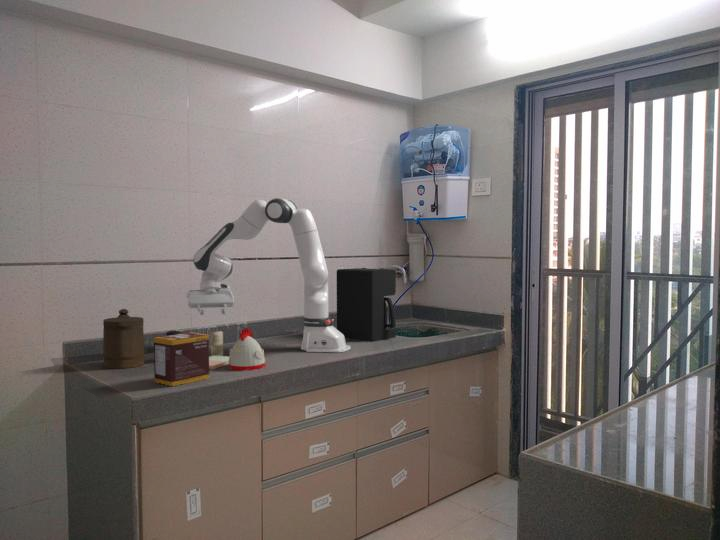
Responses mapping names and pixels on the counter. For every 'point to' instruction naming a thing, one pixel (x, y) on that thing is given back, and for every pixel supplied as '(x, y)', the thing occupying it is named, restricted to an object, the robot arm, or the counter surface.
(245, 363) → the kitchen timer
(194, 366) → the supplement box
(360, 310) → the coffee maker
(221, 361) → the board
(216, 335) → the beige cylinder
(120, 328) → the wooden container
